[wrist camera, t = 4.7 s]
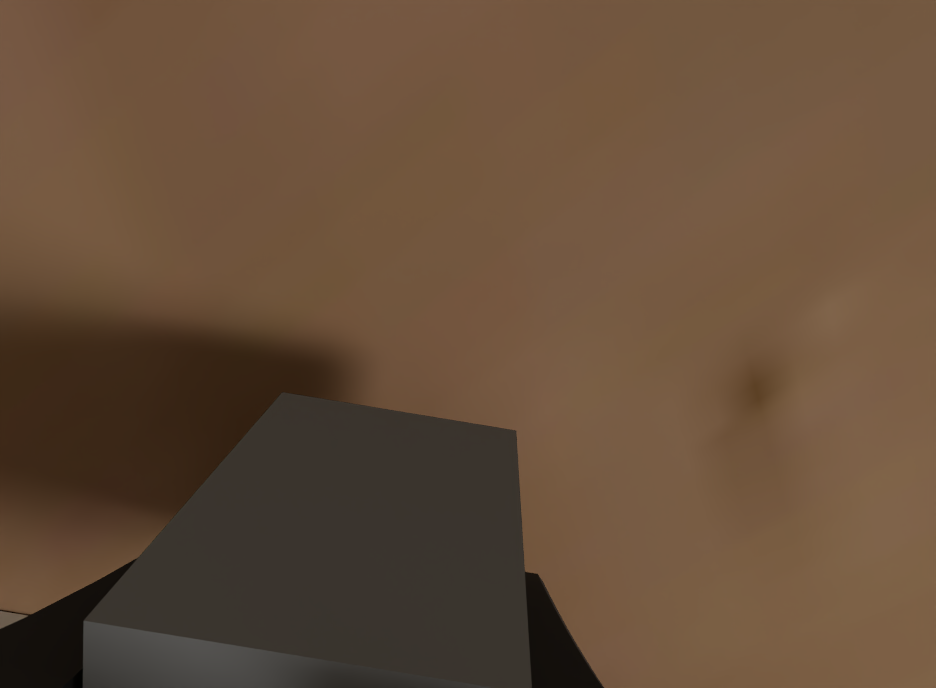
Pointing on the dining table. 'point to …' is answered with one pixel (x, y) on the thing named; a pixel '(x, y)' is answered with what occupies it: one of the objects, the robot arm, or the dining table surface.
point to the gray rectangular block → (331, 563)
